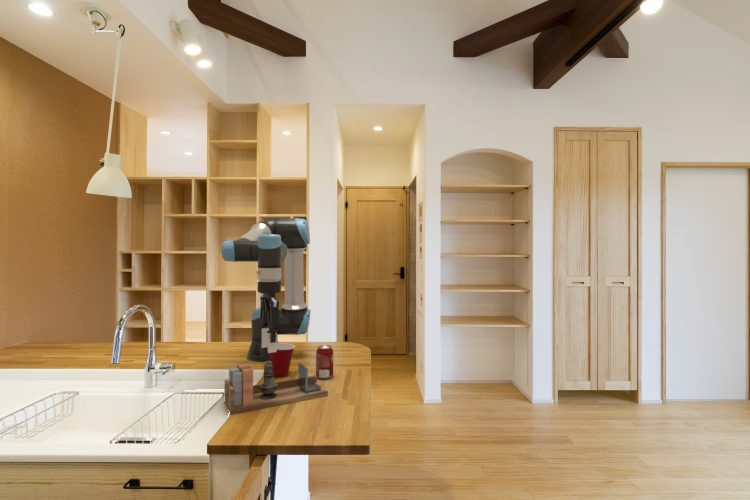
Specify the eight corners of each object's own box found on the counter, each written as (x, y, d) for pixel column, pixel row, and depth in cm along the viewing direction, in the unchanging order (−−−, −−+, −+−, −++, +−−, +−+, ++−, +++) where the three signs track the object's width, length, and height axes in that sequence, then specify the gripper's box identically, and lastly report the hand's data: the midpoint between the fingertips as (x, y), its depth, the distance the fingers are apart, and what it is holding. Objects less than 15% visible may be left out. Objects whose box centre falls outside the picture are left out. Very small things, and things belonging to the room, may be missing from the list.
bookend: (298, 386, 141) (298, 363, 141) (313, 383, 144) (313, 361, 144) (305, 392, 135) (305, 368, 135) (321, 389, 138) (321, 366, 138)
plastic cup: (298, 376, 157) (298, 346, 157) (270, 380, 152) (270, 349, 152) (291, 369, 167) (291, 340, 167) (265, 372, 162) (265, 343, 162)
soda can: (330, 380, 153) (330, 349, 153) (313, 379, 154) (313, 348, 154) (335, 375, 160) (335, 345, 160) (319, 373, 161) (319, 344, 161)
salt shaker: (271, 400, 128) (270, 363, 128) (255, 398, 130) (255, 361, 130) (281, 393, 134) (280, 358, 134) (266, 392, 136) (266, 357, 136)
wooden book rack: (224, 402, 130) (224, 364, 130) (315, 386, 147) (315, 352, 147) (230, 414, 121) (231, 373, 121) (327, 395, 137) (328, 359, 137)
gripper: (250, 278, 139) (250, 344, 139) (266, 283, 122) (265, 358, 122) (272, 278, 143) (271, 342, 143) (290, 282, 125) (289, 355, 126)
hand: (268, 349), depth 132 cm, fingers open, 7 cm apart
